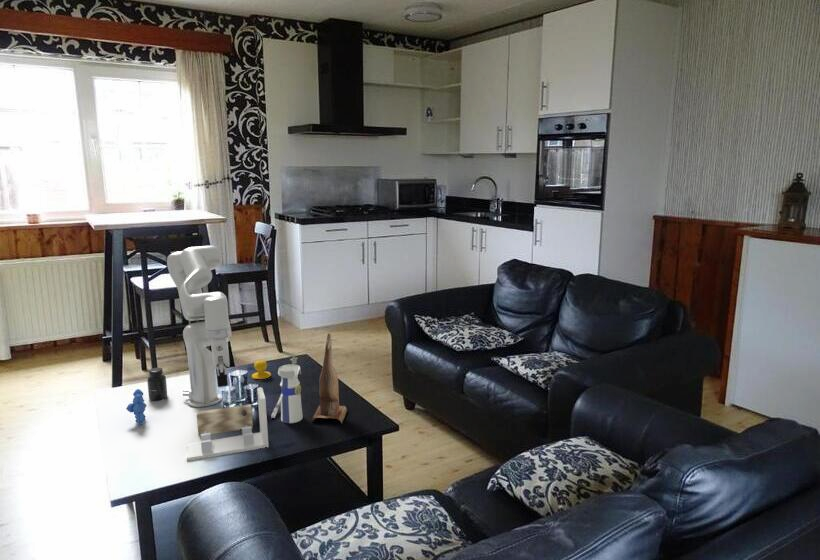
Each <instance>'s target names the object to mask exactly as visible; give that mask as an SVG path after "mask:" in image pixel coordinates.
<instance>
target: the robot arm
mask: <svg viewBox="0 0 820 560" xmlns="http://www.w3.org/2000/svg"><path fill="white" fill-rule="evenodd" d="M222 262H223V255H222V253H221V251H220V249H219V248H218V247H217V246H215V245H210V244H209V245H201V246H200V245H199V246H190V247H187V248H184V249H183V250H181V251H175V252H173V253H171V254H169V255H168V256H167V259H166V265H167V269H168V273H169V276H170V277H171V280H172V281H173V283H174V284H175V286H176V289H177V291H178V297H179V303H180V307H181V310H182V311H181V312H182V315H183V317H184V319H185V320H187V321H189V322H190V321H191V322H192V321H193V322H192V323H190V324H188V325H186V326H185V327H184V329H183V331H182V337H183V341H184V343H185V348H186V353H187V361H188V362H187V364H188V372H189V373H188V374H189V383H190V384H189V385H190V389H189V388H184V389H183V391H182V396H183V397H188V399H187V404H188V405H189V406H190V407H194V408H202V407H203V408H205V407H210V406H214V405H216V404H218V403H219V402H221V401H222V399H221V396H222V394H221V393H219V392H218V388H221V387H223V388H224V387H228V385H229V383H228V382H229V381H228V374H227V369H226V368H229V367H230V366H231V365H230V364H231V363H230V353H229V352H230V351H229V343H228V342H230V341H231V339H232V333H233V332H232V328H231V323H230V319H229V308H228V307H229V306H228V298H227V296H226V294H225V293H223V292H222V291H211V292H203V290H202V289H203V288H204V287H206V286H208V285H209V283H211V281H212V279H213V273H212V270H215V269H218V268H219V267H221V266H222ZM200 320H202V321H200ZM203 320H204V321H203ZM195 321H199V322H195ZM207 347H211V350H210V349H208V348H207Z"/></svg>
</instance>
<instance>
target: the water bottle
mask: <svg viewBox="0 0 820 560" xmlns="http://www.w3.org/2000/svg"><path fill="white" fill-rule="evenodd" d="M298 358H299V357H295V355H293V356H292V358H290V359H289V361H291V364H290V363H288V364H284V365H281V366H279V368H278V370H277V374H278V376H280V379H281V381H280V383H279V386H280V388H281V389H280V390H281V394H280V396H281V405H280V420H281V422H282V423H284V424H294V423H298V422H301V420H303V407H302V396H301V391H302V386H301V385H300V384H301V383H300V380H299V378H298V375H299V374H300V376H301V374H302V370H301V366H300V365H298V364H297V363H298V362H297V361H298Z"/></svg>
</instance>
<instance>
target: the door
mask: <svg viewBox="0 0 820 560" xmlns="http://www.w3.org/2000/svg"><path fill="white" fill-rule="evenodd" d="M196 424H197V433H198V434H197V436H198V437H201V436H200V435H201V434H203V432H208V433H211V435H214V434H215V433H216V434H220V433H221V434H222V433H227V432H228V431H229V432H233V431H240V429H241V430H242V428H243V427H244V426H245V425H248V426H251V427H252V429H253V428H254V427H253V426H254V424H253V412H252V405H251V404H250V403H248V404H242V405H235V406H229V407H221V408H215V409H207V410H200V411H196Z"/></svg>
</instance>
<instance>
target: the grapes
mask: <svg viewBox="0 0 820 560" xmlns="http://www.w3.org/2000/svg"><path fill="white" fill-rule="evenodd" d="M132 395H133V399H132V403H131V402H130V403H128V405H127V406H126V408H125V409H126V410H127V412H129V413H133V415H134V418H135V420H134V421H135V422H136V423H137V424H138V425H143V424H144V423H145V421H146V414H145V413H144V412H145V411H146V408H147V404H146V403H145V399H144V397H143V396H144V392H143V391H142V390H141V389H139V388H137V389H135V390H134V392H133V393H132Z"/></svg>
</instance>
